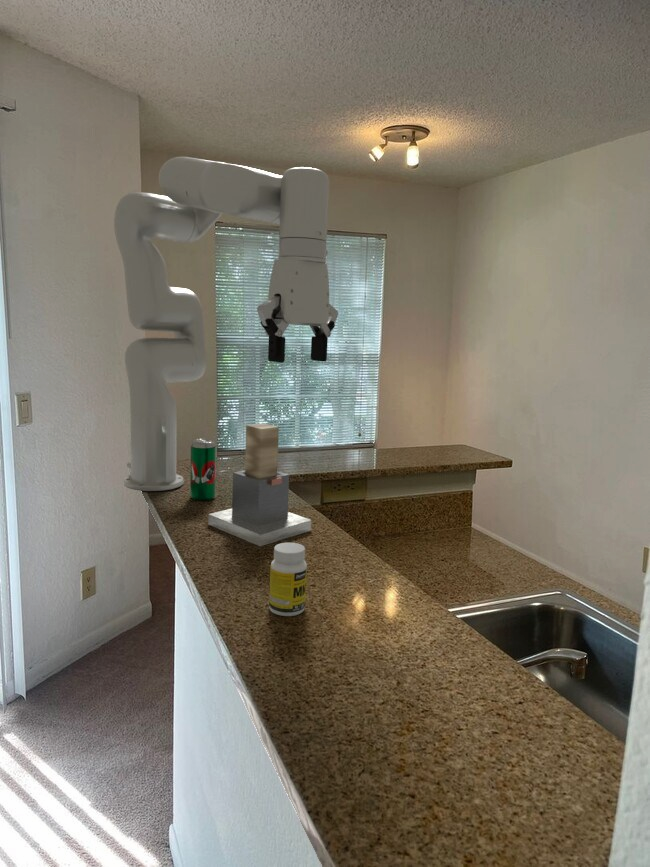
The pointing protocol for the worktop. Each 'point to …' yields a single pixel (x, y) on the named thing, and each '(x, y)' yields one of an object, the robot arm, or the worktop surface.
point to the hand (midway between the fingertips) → (298, 361)
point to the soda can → (203, 470)
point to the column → (261, 450)
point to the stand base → (260, 510)
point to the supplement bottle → (288, 580)
